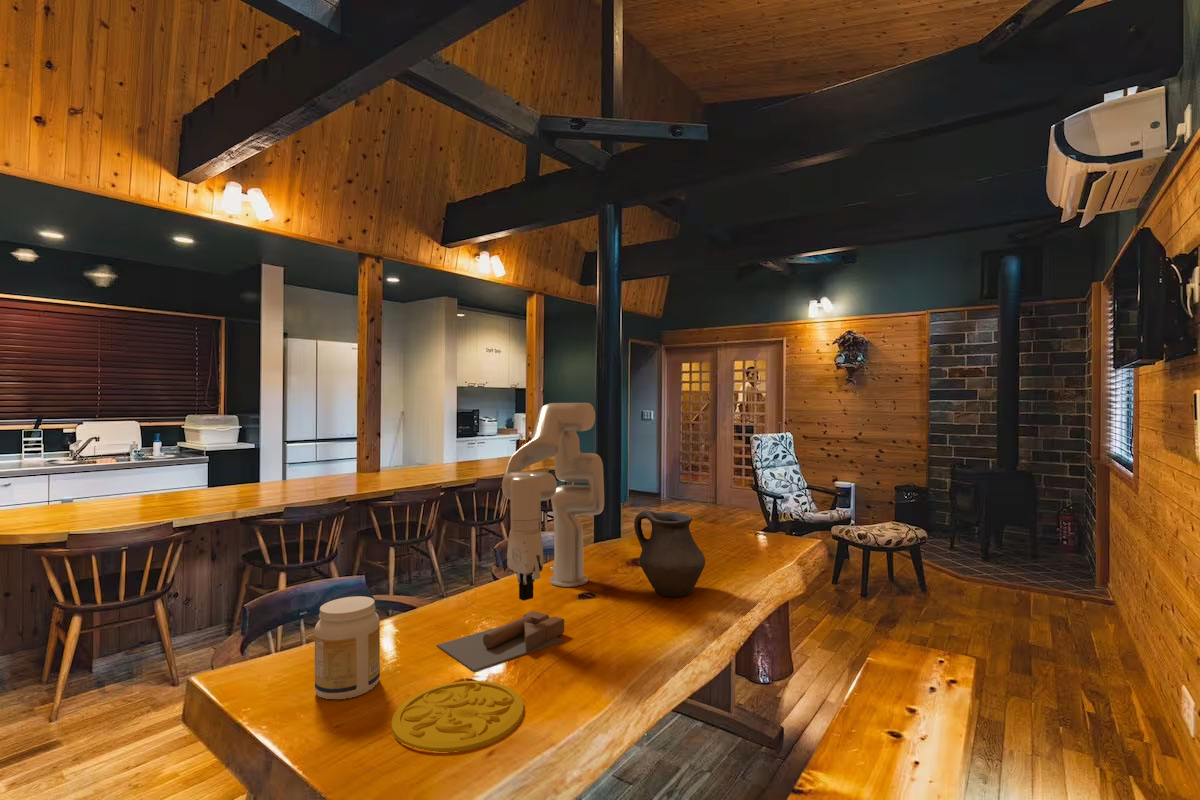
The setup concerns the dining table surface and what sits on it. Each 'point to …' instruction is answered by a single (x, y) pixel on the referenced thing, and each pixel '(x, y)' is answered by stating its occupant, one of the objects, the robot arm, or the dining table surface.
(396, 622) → the dining table surface
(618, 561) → the dining table surface
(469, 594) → the dining table surface
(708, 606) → the dining table surface
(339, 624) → the supplement tub
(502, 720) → the decorative medallion
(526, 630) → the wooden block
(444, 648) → the mat
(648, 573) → the pitcher
